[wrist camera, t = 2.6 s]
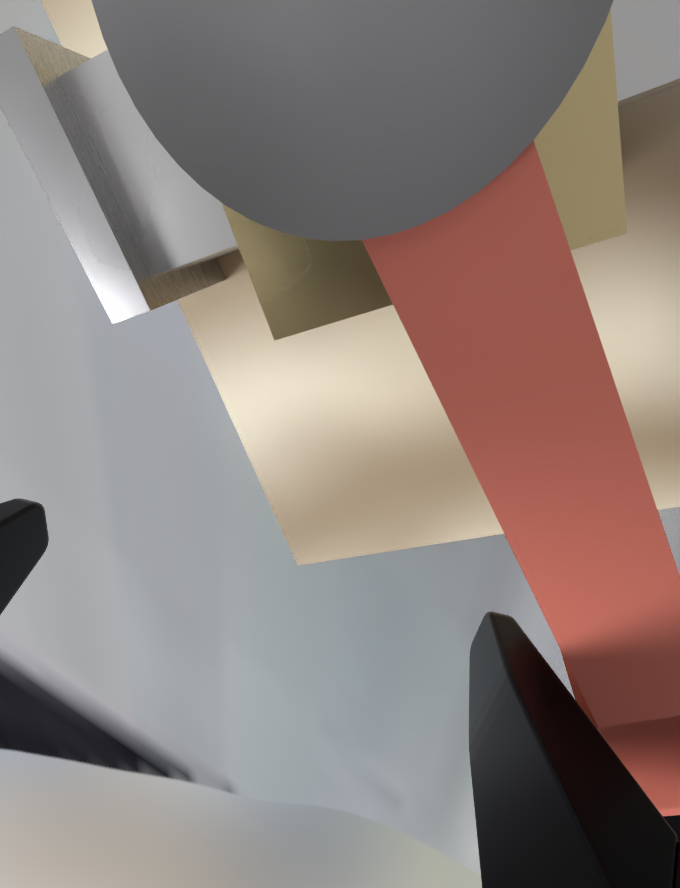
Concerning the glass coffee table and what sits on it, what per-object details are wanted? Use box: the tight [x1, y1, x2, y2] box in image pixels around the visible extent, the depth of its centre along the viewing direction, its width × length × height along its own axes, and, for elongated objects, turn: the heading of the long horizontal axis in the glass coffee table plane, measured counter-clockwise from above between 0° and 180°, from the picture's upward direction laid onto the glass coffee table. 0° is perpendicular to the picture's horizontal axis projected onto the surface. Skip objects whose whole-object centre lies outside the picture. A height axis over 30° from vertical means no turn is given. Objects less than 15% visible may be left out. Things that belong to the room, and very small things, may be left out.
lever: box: [91, 0, 680, 816], centre depth 6 cm, size 14×4×2 cm, turn 28°
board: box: [41, 0, 680, 565], centre depth 10 cm, size 16×15×1 cm
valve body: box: [0, 0, 680, 340], centre depth 7 cm, size 6×14×4 cm, turn 107°
